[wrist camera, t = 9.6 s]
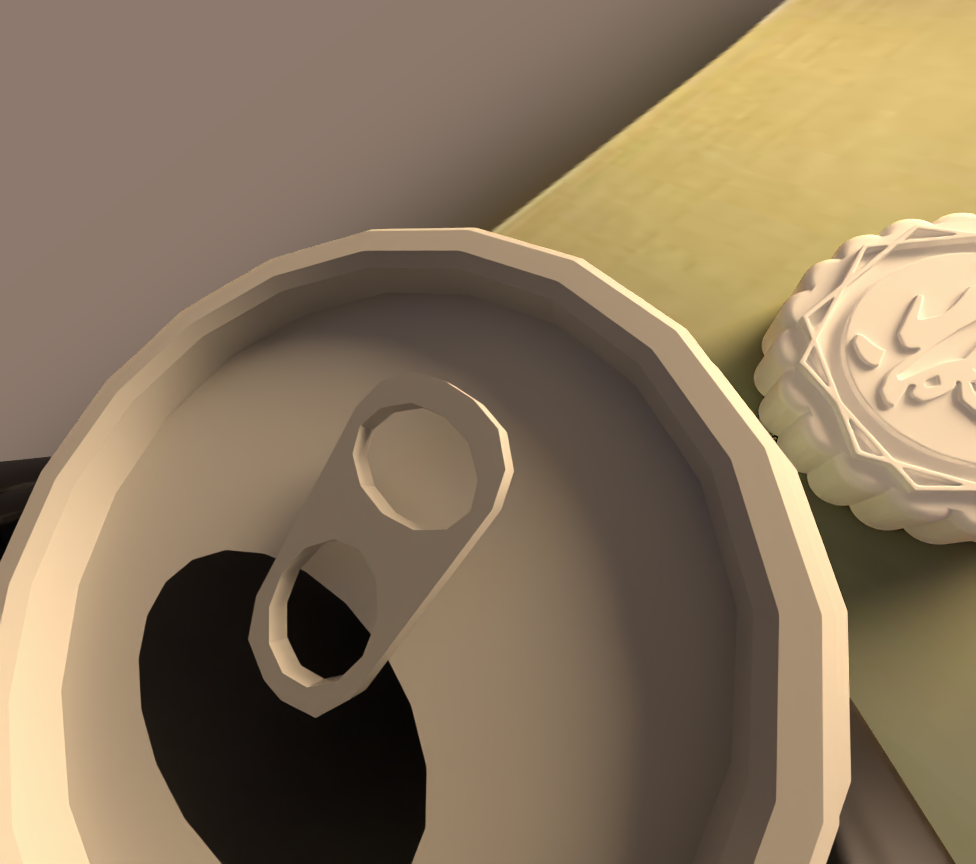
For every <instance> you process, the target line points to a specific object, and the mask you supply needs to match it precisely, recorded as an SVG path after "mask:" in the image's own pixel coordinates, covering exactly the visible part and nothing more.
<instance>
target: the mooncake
mask: <svg viewBox="0 0 976 864" xmlns="http://www.w3.org/2000/svg"><path fill="white" fill-rule="evenodd" d="M762 351H763V354H764V357H763V359H762V360H761V362H760V363H759V365H758V366H757V368H756V370H755V373H754V383H755V386H756V388H757V390H758V391H759V392H760V393H761V394H762V395H763V396H764V399H763V400H762V402H761V404H760V406H759V418H760V421H761V423H762V425H763V426H764V427H765V428H766V429H767V430H768V431H769V432H771V433H772V434H774V435H776V436H778V439H777V445H778V446H779V448H780V449H781V450H782V451H783V453H784V454H785V455H786V457H787V458H788V459H789V461H790V462H791V463H792V464H793V466H794V467H795V468H796V470H797V472H801V473H806V474H807V480H808V484H809V486H810V488H811V490H812V491H813V492H814V493H815V495H817V496H818V497H819V498H820V499H822V500H823V501H825V502H828V503H830V504H834V505H839V506H847V505H849V506H850V509H851V511H852V512H853V514H854V515H855V516H856V517H857V518H858V519H859V520H860V521H861V522H863V523H864V524H865V525H867V526H870V527H872V528H875V529H879V530H897V529H902V528H904V530H905V531H906V532H907V533H908V534H910V535H911V536H913V537H914V538H916V539H918V540H920V541H923V542H925V543H930V544H938V545H941V544H951V543H959V542H966V541H973V542H975V543H976V215H974V214H969V213H955V214H949V215H946V216H943V217H941V218H939V219H937V220H936V221H934V222H933V223H932V224H931V223H929V222H926V221H923V220H918V219H906V220H900V221H897V222H895V223H892V224H890V225H889V226H887V227H886V228H884V229H883V230H882V231H881V232H880V234H879V235H878V236H876V235H862V236H857V237H854V238H852V239H850V240H848V241H846V242H845V243H843V244H842V245H841V246H840V247H839V248H838V250H837V251H836V253H835V254H834V256H833V257H832V259H830V260H825V261H821V262H819V263H817V264H815V265H813V266H812V267H811V268H809V269H808V270H807V271H806V273H805V274H804V276H803V277H802V279H801V281H800V282H799V284H798V285H797V287H796V289H795V290H794V292H793V294H792V295H791V297H790V298H789V299H787V300H786V302H785V303H784V304H783V306H782V307H781V309H780V311H779V312H778V314H777V316H776V317H775V319H774V321H773V322H772V324H771V326H770V327H769V329H768V331H767V332H766V334H765V336H764V337H763V340H762Z"/></svg>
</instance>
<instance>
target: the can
mask: <svg viewBox="0 0 976 864" xmlns="http://www.w3.org/2000/svg"><path fill="white" fill-rule="evenodd" d="M850 783H851V755H850V708H849V660H848V612H847V609H846V606H845V603H844V601H843V598H842V595H841V592H840V589H839V587H838V584H837V581H836V578H835V576H834V573H833V570H832V567H831V564H830V562H829V559H828V556H827V553H826V550H825V548H824V545H823V542H822V539H821V536H820V534H819V531H818V528H817V525H816V523H815V520H814V517H813V514H812V511H811V509H810V506H809V503H808V500H807V497H806V495H805V492H804V489H803V486H802V484H801V481H800V478H799V475H798V472H797V470H796V468H795V467H794V466H793V464H792V463H791V462H790V461H789V459H788V458H787V457H786V455H785V454H784V453H783V451H782V450H781V449H780V448H779V446H778V445H777V444H776V442H775V441H774V440H773V439H772V437H771V436H770V435H769V433H768V432H767V431H766V429H765V428H764V427H763V426H762V424H761V423H760V422H759V420H758V419H757V418H756V416H755V415H754V414H753V413H752V411H751V410H750V409H749V407H748V406H747V405H746V404H745V402H744V401H743V400H742V398H741V397H740V396H739V394H738V393H737V392H736V391H735V389H734V388H733V387H732V385H731V384H730V383H729V382H728V380H727V379H726V378H725V376H724V375H723V374H722V372H721V371H720V370H719V369H718V367H717V366H716V365H714V364H713V363H712V362H711V360H710V359H709V358H708V356H707V355H706V354H705V353H704V351H703V350H702V349H701V347H700V346H699V345H698V343H697V342H696V341H695V340H694V338H693V337H692V336H691V334H690V333H689V332H688V331H687V329H686V328H684V327H683V326H681V325H680V324H678V323H677V322H675V321H674V320H672V319H671V318H669V317H668V316H666V315H665V314H663V313H662V312H660V311H659V310H658V309H656V308H655V307H653V306H652V305H650V304H649V303H647V302H646V301H644V300H643V299H641V298H640V297H638V296H637V295H635V294H634V293H632V292H631V291H629V290H628V289H626V288H625V287H623V286H622V285H620V284H619V283H618V282H616V281H615V280H613V279H612V278H610V277H609V276H607V275H606V274H604V273H603V272H601V271H600V270H598V269H597V268H595V267H594V266H592V265H591V264H589V263H588V262H586V261H585V260H583V259H582V258H579V257H575V256H572V255H568V254H565V253H561V252H558V251H554V250H551V249H547V248H544V247H540V246H537V245H533V244H530V243H526V242H523V241H520V240H516V239H513V238H509V237H506V236H502V235H499V234H495V233H492V232H488V231H485V230H481V229H478V228H427V229H426V228H425V229H372V230H368V231H365V232H362V233H358V234H355V235H351V236H348V237H344V238H341V239H337V240H334V241H331V242H327V243H324V244H320V245H317V246H314V247H310V248H307V249H303V250H300V251H296V252H293V253H289V254H286V255H282V256H279V257H276V258H272V259H270V260H268V261H267V262H265V263H263V264H261V265H260V266H258V267H256V268H255V269H253V270H251V271H249V272H247V273H246V274H244V275H242V276H241V277H239V278H237V279H235V280H234V281H232V282H230V283H229V284H227V285H225V286H223V287H222V288H220V289H218V290H217V291H215V292H213V293H211V294H210V295H208V296H207V297H204V298H203V299H201V300H199V301H198V302H196V303H194V304H192V305H191V306H189V307H187V308H186V309H184V310H183V311H182V312H180V313H179V314H178V315H177V316H176V317H175V318H174V319H173V320H172V321H171V322H170V323H169V324H168V325H166V326H165V327H164V328H163V329H162V330H161V331H160V332H159V333H158V334H157V335H156V336H154V337H153V338H152V339H151V340H150V341H149V342H148V343H147V344H146V345H145V346H144V347H142V349H140V350H139V351H138V352H137V353H136V354H135V355H134V356H133V357H132V358H131V359H129V360H128V361H127V362H126V363H125V364H124V365H123V366H122V367H121V368H120V369H119V370H118V371H116V372H115V373H114V374H113V375H112V376H111V377H110V378H109V379H108V380H107V381H106V382H105V383H104V385H103V386H102V388H101V389H100V390H99V392H98V393H97V395H96V396H95V397H94V399H93V400H92V402H91V403H90V404H89V406H88V407H87V408H86V410H85V412H84V413H83V414H82V415H81V417H80V418H79V420H78V421H77V423H76V424H75V425H74V427H73V428H72V429H71V431H70V432H69V434H68V435H67V436H66V438H65V439H64V441H63V442H62V443H61V445H60V446H59V448H58V449H57V451H56V452H55V453H54V455H53V456H52V457H51V459H50V460H49V461H48V463H47V464H46V466H45V467H44V468H43V470H42V471H41V473H40V475H39V477H38V480H37V482H36V484H35V486H34V488H33V491H32V493H31V495H30V497H29V499H28V502H27V504H26V506H25V508H24V511H23V513H22V515H21V517H20V519H19V522H18V524H17V526H16V528H15V530H14V533H13V535H12V537H11V539H10V541H9V544H8V546H7V548H6V550H5V553H4V555H3V557H2V559H1V561H0V864H826V863H827V860H828V857H829V854H830V851H831V848H832V845H833V842H834V839H835V836H836V833H837V830H838V827H839V815H840V813H841V810H842V807H843V804H844V801H845V798H846V795H847V792H848V789H849V786H850Z"/></svg>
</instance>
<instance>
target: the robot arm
mask: <svg viewBox="0 0 976 864" xmlns="http://www.w3.org/2000/svg"><path fill="white" fill-rule="evenodd" d="M50 459H51V457H43V458H33V459H24V460H15V461H3V462H0V561H1V559H2V557H3V555H4V553H5V550H6V548H7V546H8V544H9V541H10V539H11V537H12V535H13V533H14V530H15V528H16V526H17V524H18V522H19V519H20V517H21V515H22V513H23V511H24V508H25V506H26V504H27V502H28V499H29V497H30V495H31V493H32V491H33V488H34V486H35V484H36V482H37V480H38V477H39V475H40V473H41V471H42V470H43V468H44V467H45V466H46V464H47V463H48V461H49V460H50ZM849 708H850V755H851V783H850V786H849V789H848V792H847V795H846V798H845V801H844V804H843V807H842V810H841V813H840V815H839V827H838V830H837V833H836V836H835V839H834V842H833V845H832V848H831V851H830V854H829V857H828V860H827V863H826V864H955V862H954V861H953V859H952V857H951V856H950V854H949V853H948V851H947V849H946V848H945V846H944V845H943V843H942V842H941V840H940V838H939V837H938V835H937V834H936V832H935V830H934V829H933V827H932V826H931V824H930V823H929V821H928V819H927V818H926V816H925V815H924V813H923V812H922V810H921V808H920V807H919V805H918V804H917V802H916V800H915V799H914V797H913V796H912V794H911V793H910V791H909V789H908V788H907V786H906V785H905V783H904V782H903V780H902V778H901V777H900V775H899V774H898V772H897V770H896V769H895V767H894V766H893V764H892V763H891V761H890V759H889V758H888V756H887V755H886V753H885V751H884V750H883V748H882V747H881V745H880V744H879V742H878V740H877V739H876V737H875V736H874V734H873V733H872V731H871V729H870V728H869V726H868V725H867V723H866V721H865V720H864V718H863V717H862V715H861V714H860V712H859V710H858V709H857V707H856V706H855V704H854V702H853V701H852V699H851V698H850V696H849Z"/></svg>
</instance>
